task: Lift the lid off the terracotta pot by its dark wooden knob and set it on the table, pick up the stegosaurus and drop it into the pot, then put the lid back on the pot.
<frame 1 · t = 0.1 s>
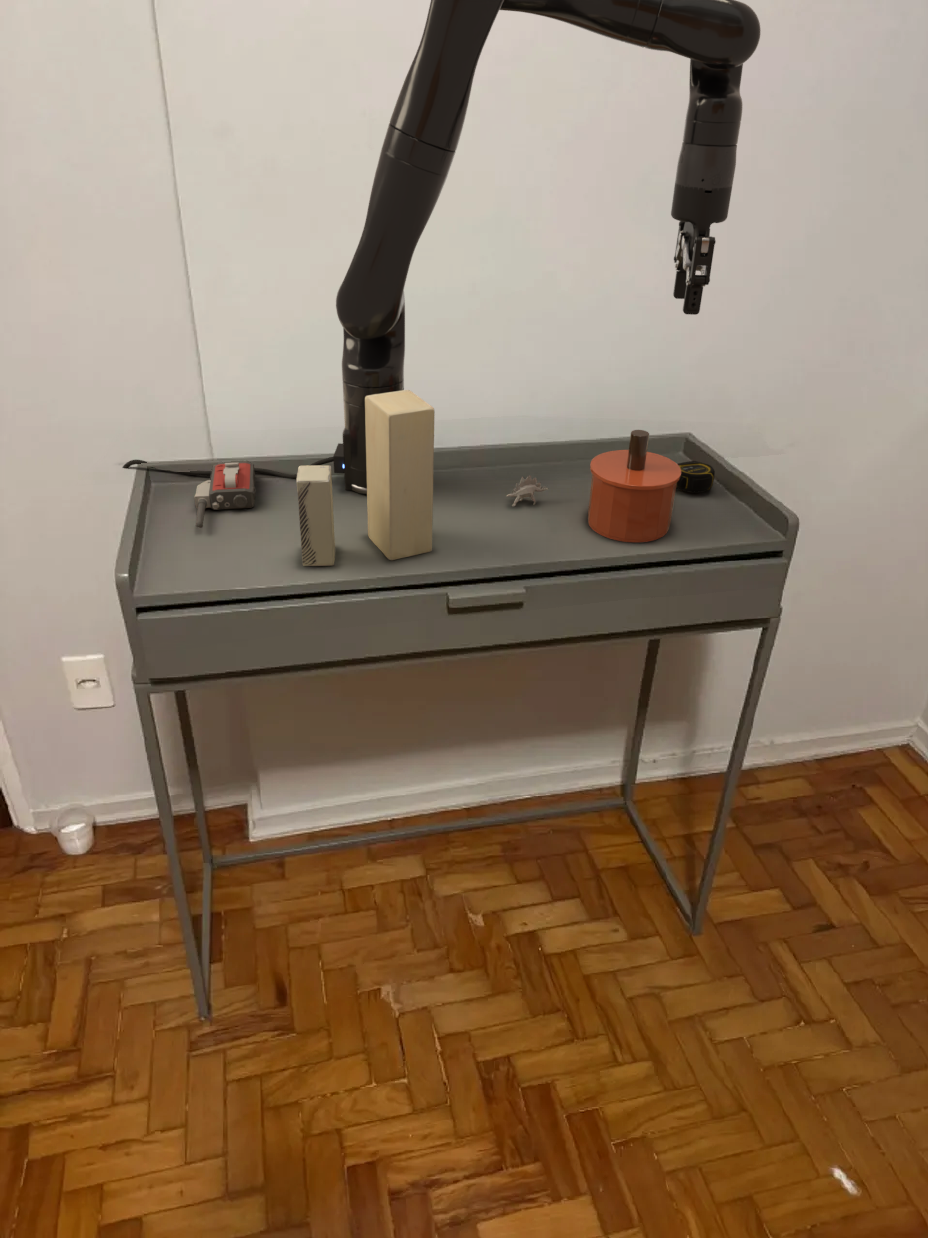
hand: (685, 305, 133), 29 cm above the table, tool pointing down, fingers open, 8 cm apart
stegosaurus: (526, 503, 144), on the table
pot: (628, 523, 139), on the table
box: (319, 559, 128), on the table
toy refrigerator: (402, 545, 132), on the table
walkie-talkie: (226, 504, 142), on the table
tape measure: (686, 488, 151), on the table
lid: (635, 470, 134), point 8 cm above the table, touching pot
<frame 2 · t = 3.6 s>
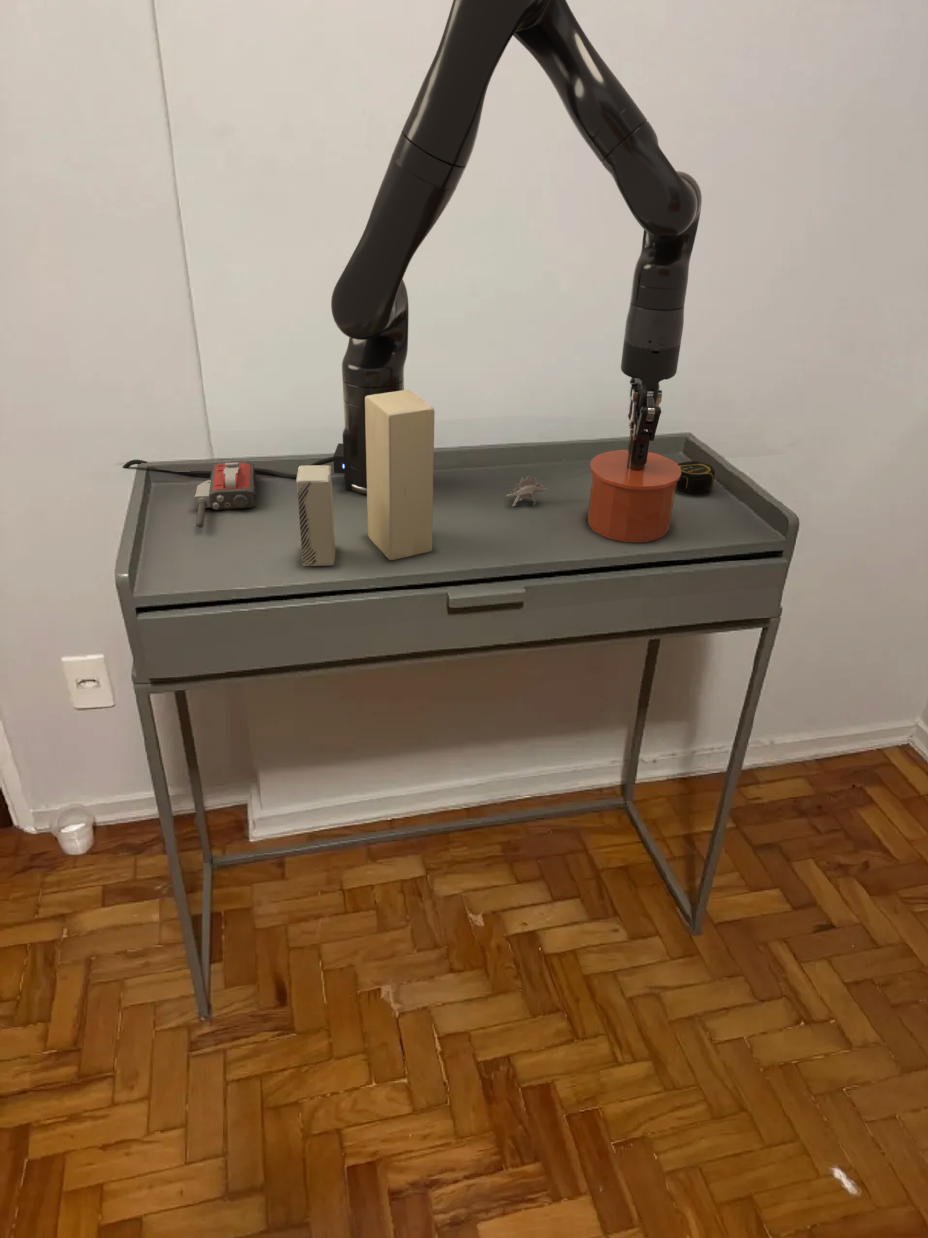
hand: (636, 458, 133), 10 cm above the table, tool pointing down, fingers closed on lid, 2 cm apart
lid: (635, 470, 134), point 9 cm above the table, touching gripper, pot
everything else where it was.
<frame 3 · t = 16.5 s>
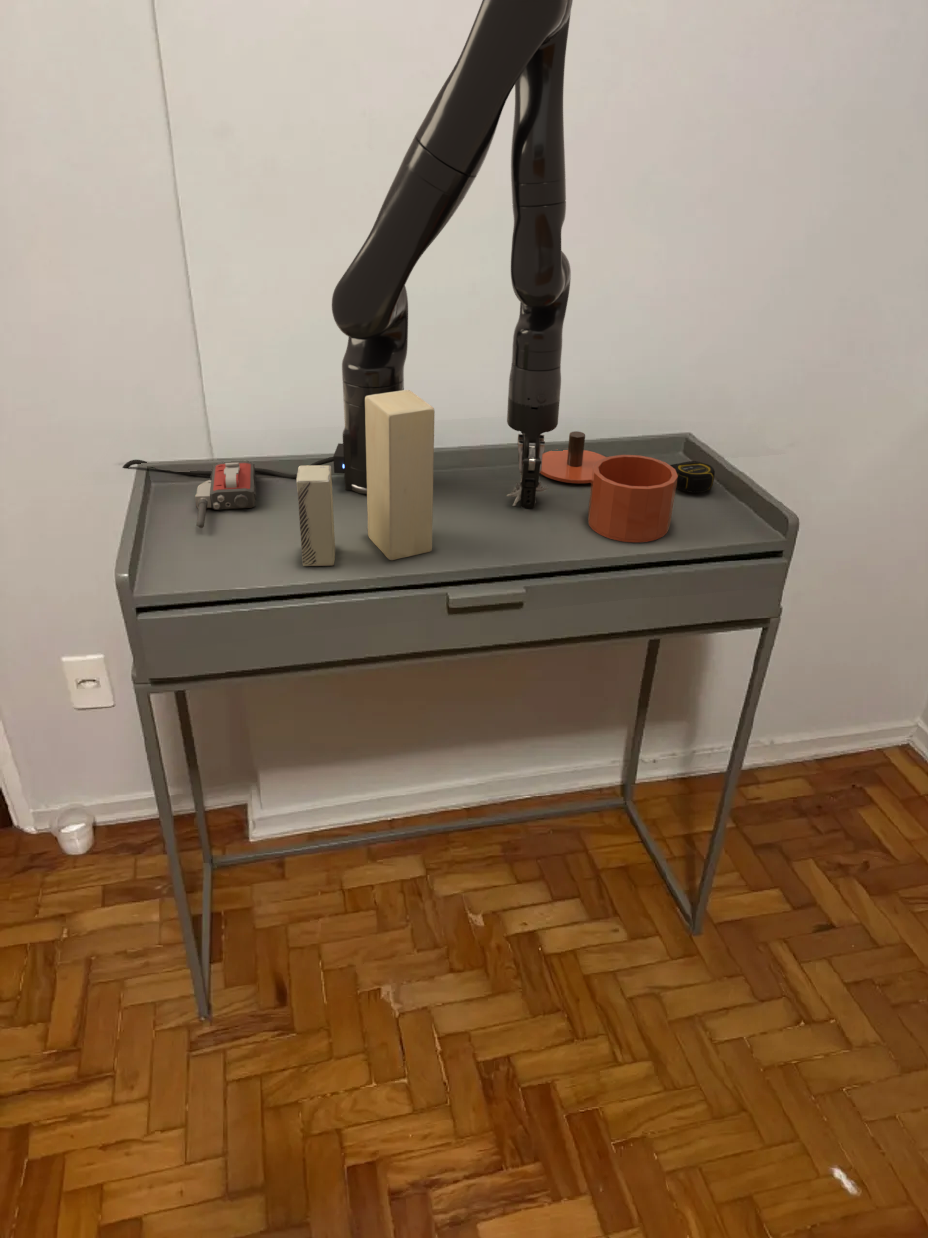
hand: (527, 502, 144), 0 cm above the table, tool pointing down, fingers closed on stegosaurus, 2 cm apart
stegosaurus: (526, 503, 145), on the table, touching gripper
lid: (574, 467, 155), point 1 cm above the table
everything else where it was.
when the fingers open (10 cm above the table, at t = 35.9 s): stegosaurus stays where it is, resting on pot.
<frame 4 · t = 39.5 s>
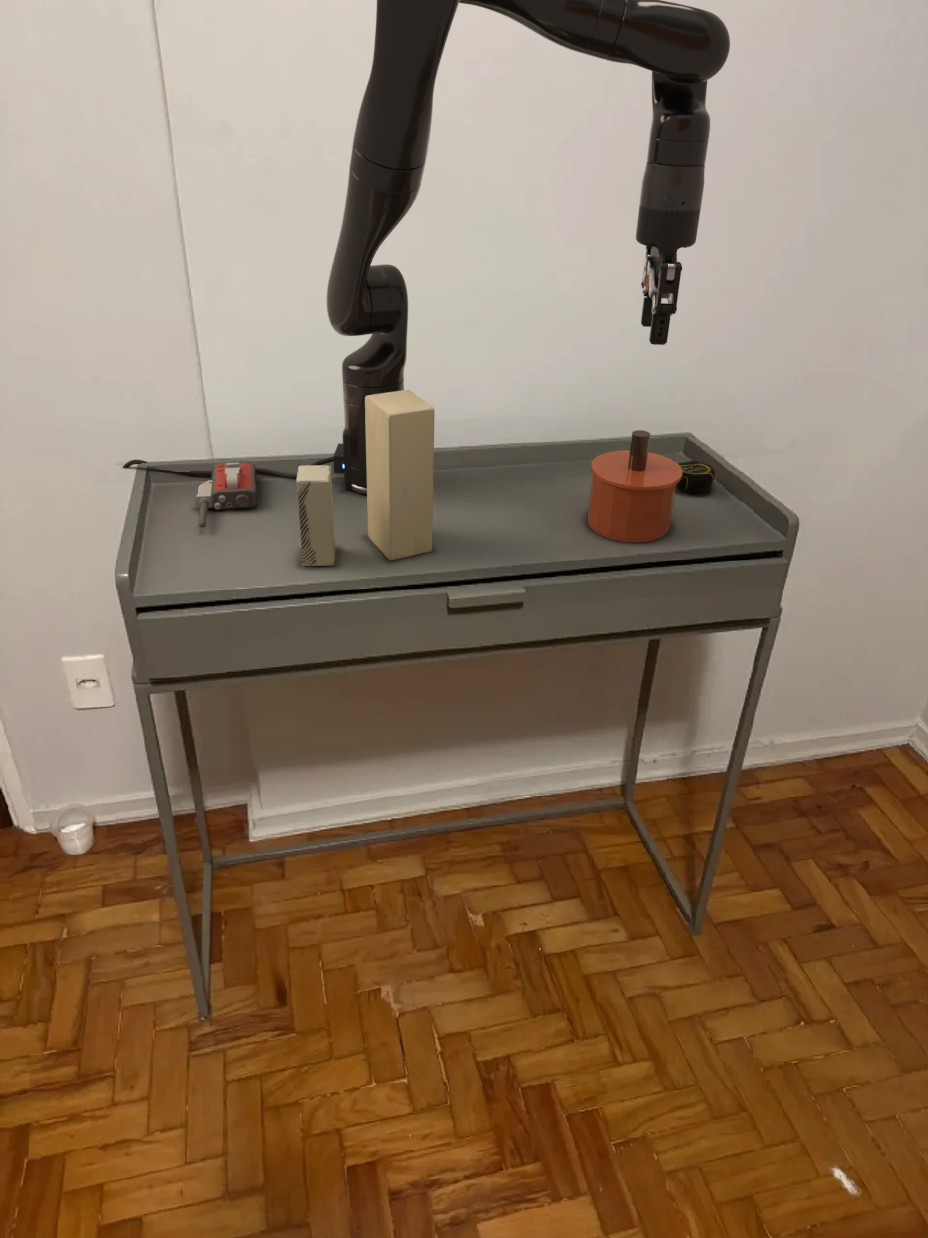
hand: (653, 334, 124), 28 cm above the table, tool pointing down, fingers open, 8 cm apart
stegosaurus: (627, 521, 139), resting on pot
lid: (636, 471, 134), point 8 cm above the table, touching pot
everything else where it was.
at the end: stegosaurus inside the target area in the pot (0.1 cm from its centre), point 0.3 cm above the pot's base; lid 0.1 cm off-centre on the pot, point 8.5 cm above the pot's base; lid tilted 0° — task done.
